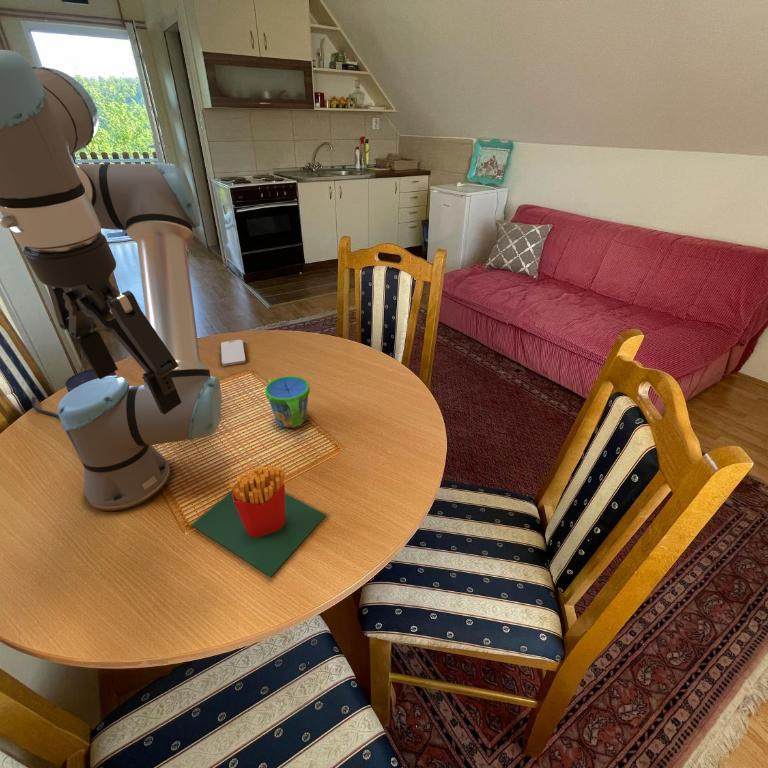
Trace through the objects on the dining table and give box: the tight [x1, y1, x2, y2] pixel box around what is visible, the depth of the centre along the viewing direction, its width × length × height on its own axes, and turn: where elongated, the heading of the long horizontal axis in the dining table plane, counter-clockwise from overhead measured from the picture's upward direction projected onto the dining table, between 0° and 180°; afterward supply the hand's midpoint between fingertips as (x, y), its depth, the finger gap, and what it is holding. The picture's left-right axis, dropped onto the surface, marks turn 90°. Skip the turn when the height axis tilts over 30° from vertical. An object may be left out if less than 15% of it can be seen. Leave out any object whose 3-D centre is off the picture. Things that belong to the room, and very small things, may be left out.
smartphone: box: [219, 339, 247, 367], centre depth 134 cm, size 7×1×15 cm
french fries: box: [229, 464, 286, 538], centre depth 74 cm, size 9×4×13 cm, turn 116°
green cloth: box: [191, 490, 327, 578], centre depth 79 cm, size 20×15×1 cm
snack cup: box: [264, 375, 311, 429], centre depth 102 cm, size 16×10×10 cm
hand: (138, 390), depth 57 cm, fingers open, 13 cm apart
